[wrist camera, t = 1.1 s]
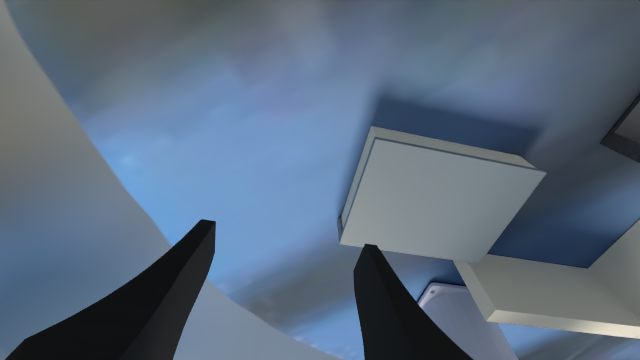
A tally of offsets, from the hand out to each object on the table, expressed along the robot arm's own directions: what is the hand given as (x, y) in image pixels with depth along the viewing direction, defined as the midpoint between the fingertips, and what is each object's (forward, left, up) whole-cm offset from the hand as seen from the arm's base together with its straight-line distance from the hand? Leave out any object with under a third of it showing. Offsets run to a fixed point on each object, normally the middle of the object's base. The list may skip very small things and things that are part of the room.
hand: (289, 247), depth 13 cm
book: (-1, -10, -9) cm, 14 cm away
